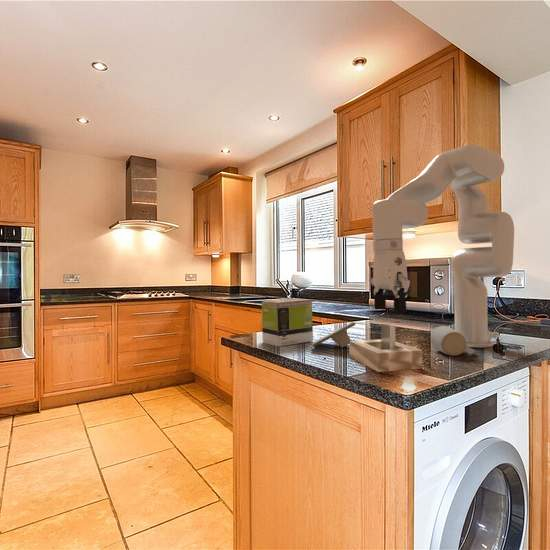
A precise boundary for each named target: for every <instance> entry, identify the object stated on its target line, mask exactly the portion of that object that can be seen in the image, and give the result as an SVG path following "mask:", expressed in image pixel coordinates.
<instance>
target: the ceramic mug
mask: <svg viewBox="0 0 550 550" xmlns="http://www.w3.org/2000/svg"><path fill="white" fill-rule="evenodd" d="M430 342H431V344H432V346H433V348H435V349H436V350H438V351H439V352H441V353H443V354H445V355H447V356H451V357H455V356H456V357H457V356H460V355H461V354H463V353H466V354H469V355H471V356H472V355H473V354H474V352H475V349H473V348H472V347H467V346H466V340H465V338H464V336H463V335H462V334H461V333H459V332H458V331H455V328H454V329H453V328H452V327H450V326H447V325H441V326H438V327H436V328H434V330H433V331H432V333H431V335H430Z"/></svg>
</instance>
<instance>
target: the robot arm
mask: <svg viewBox="0 0 550 550" xmlns="http://www.w3.org/2000/svg"><path fill="white" fill-rule="evenodd" d="M504 162H505V161H504V160H503V158H502V157H501V156H500V154H499V153H497V152H495V151H493V150H490V149H489V148H486V147H483V146H480V145H476V144H466V145H463V146H459V147H456V148H453V149H450V150H446V151H443V152H441V153H439V154H437V155H436V156H435V157H434V158H433V159H432V160H431V162H429V164H427V166H426V167H425V169H424V170H423V171H422V172H421V173H420V174H419V175H417V177H416V178H413V179H412V180H411V181H409V182H408V183H407V184H404V185H403V186H402V187H400V188H399V189H397V190H396V191H394V192H392V193H391V194H390V195H389V196H388V197H387V198H386V199H380V200H376V201H375V202H374V203H373V204H372V206H371V218H372V219H371V220H372V247H373V248H372V249H373V251H372V252H373V267H372V272H373V273H372V277H371V278H370V282H371V288H372V290H373V295H374V296H373V299H374V300H373V301H374V302H373V303H374V310H386V308H387V302H386V301H387V299H386V296H387V295H386V294H385V292H386V290H387V291H392V293H393V294H394V297H393V314H397V315H399V314H406V313H407V297H408V293H409V291H410V290H409V287H410V285H411V280H410V279H408V277H409V276H408V270H407V269H408V267H407V261H406V256H405V252H404V250H403V249H404V247H403V246H404V245H403V244H404V243H403V241H404V240H403V230H405V229H406V230H407V229H416V228H419V227H421V226H422V225H424V224H425V223H426V222H427V220H428V218H429V209H428V207H427V205H426V204H428V203H430V202H432V201H434V200H436V199H438V198H440V197H441V196H442V194H443V193H444V192H445V191H446V189H447V188H448V187H450V188H451V190H452V191H453V192H454V195H455V197H456V198H457V201H458V202H457V203H458V220H457V237H458V240H459V242H460V243H463V244H466V245H474V244H475V245H477V244H479V245H480V244H491V246H481V247H478V246H476V247H466V248H460V249H458V250H456V251H455V252H454V253H453V254H452V256H451V259H450V266H451V271H452V275H453V276H452V277H453V281H454V282H453V285H454V288H453V289H454V330H455V331H458V332H459V333H461V334H462V335H463V336H464V338H465V340H466V346H467V347H469V348H477V349H478V348H481V349H482V348H491V347H493V346H494V342H493V341H492V340H491V339H499V338H500V332H499V331H492V332H491V330H489V329H488V324H489V323H488V289H487V287H486V285H485V283H484V281H482V279H481V278H503V277H506V276H508V275H509V274H510V273H511V271H512V269H513V264H514V247H515V224H514V220H513V218H512V216H511V215H510V214H509V213H508V212H506V211H493V212H489V198H488V196H487V195H486V193H485V192H484V191H483V190H482V189H481V188H480V187H478V186H477V185H482V184H488V183H492V182H495V181H497V180H499V179H500V178H502V176H503V174H504V173H505V172H504V171H505V163H504Z"/></svg>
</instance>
